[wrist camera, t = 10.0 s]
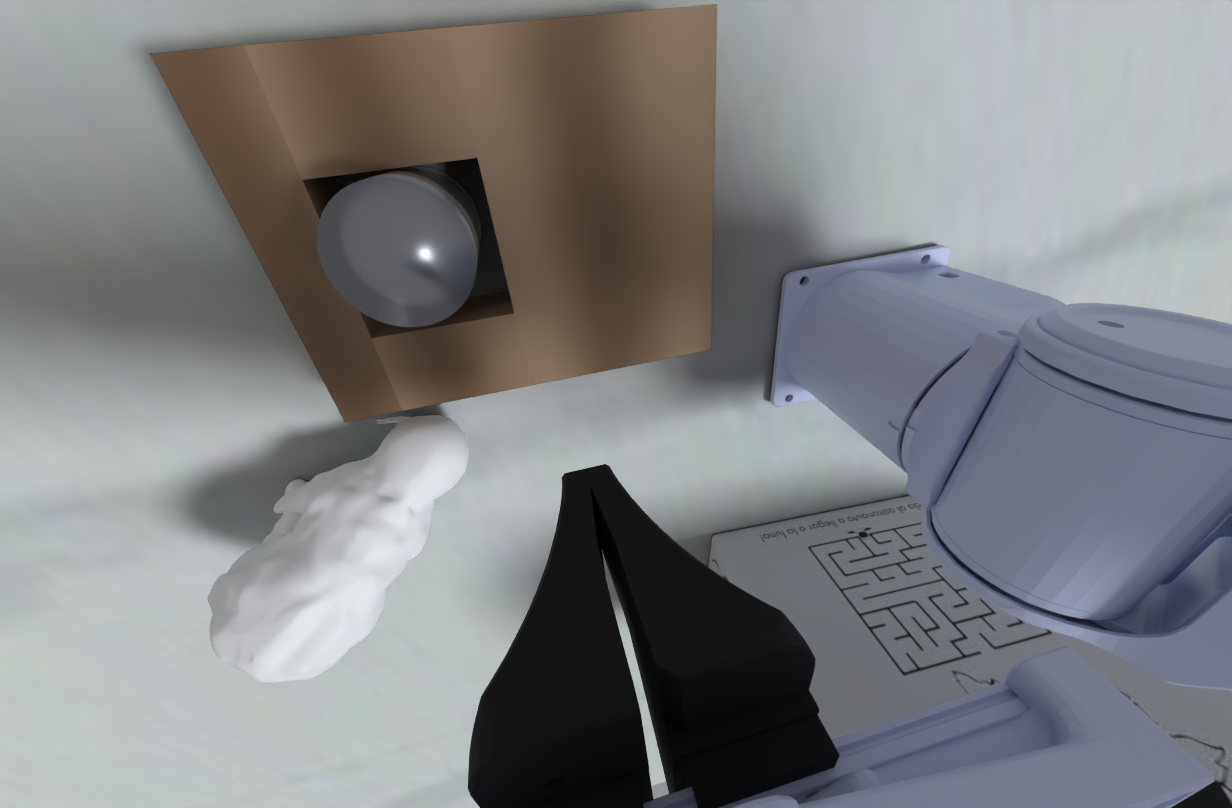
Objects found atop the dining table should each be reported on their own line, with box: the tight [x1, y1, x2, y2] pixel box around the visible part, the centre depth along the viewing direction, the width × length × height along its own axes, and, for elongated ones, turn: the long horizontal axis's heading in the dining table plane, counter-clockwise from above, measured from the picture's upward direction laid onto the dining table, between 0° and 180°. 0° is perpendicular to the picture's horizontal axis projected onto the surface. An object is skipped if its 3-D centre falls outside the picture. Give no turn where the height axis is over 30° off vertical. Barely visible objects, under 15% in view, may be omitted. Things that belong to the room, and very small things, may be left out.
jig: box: [150, 4, 717, 422], centre depth 17 cm, size 16×12×3 cm
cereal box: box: [708, 496, 1232, 808], centre depth 25 cm, size 22×8×25 cm, turn 92°
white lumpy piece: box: [208, 415, 469, 683], centre depth 20 cm, size 6×8×12 cm
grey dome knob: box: [317, 166, 481, 327], centre depth 15 cm, size 4×4×6 cm
